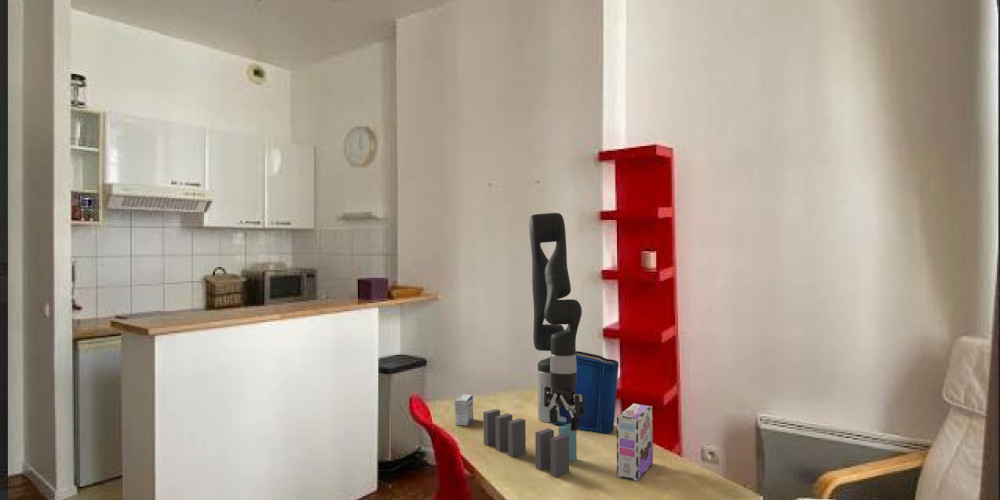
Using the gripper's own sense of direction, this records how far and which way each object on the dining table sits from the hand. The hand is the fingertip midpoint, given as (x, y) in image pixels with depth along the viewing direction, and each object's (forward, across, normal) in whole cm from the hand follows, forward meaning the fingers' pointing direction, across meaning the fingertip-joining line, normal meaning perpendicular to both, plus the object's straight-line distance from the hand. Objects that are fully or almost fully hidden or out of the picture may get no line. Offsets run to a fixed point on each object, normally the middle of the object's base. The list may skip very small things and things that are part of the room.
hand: (563, 426), depth 160 cm
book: (+10, +18, -25) cm, 32 cm away
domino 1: (+10, +24, +8) cm, 27 cm away
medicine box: (+10, +47, +3) cm, 48 cm away
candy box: (+10, -16, -11) cm, 22 cm away
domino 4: (+10, 0, +7) cm, 12 cm away
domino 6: (+10, -6, +7) cm, 13 cm away
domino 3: (+10, +12, +7) cm, 17 cm away
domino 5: (+10, 0, -1) cm, 10 cm away
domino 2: (+10, +18, +7) cm, 22 cm away
